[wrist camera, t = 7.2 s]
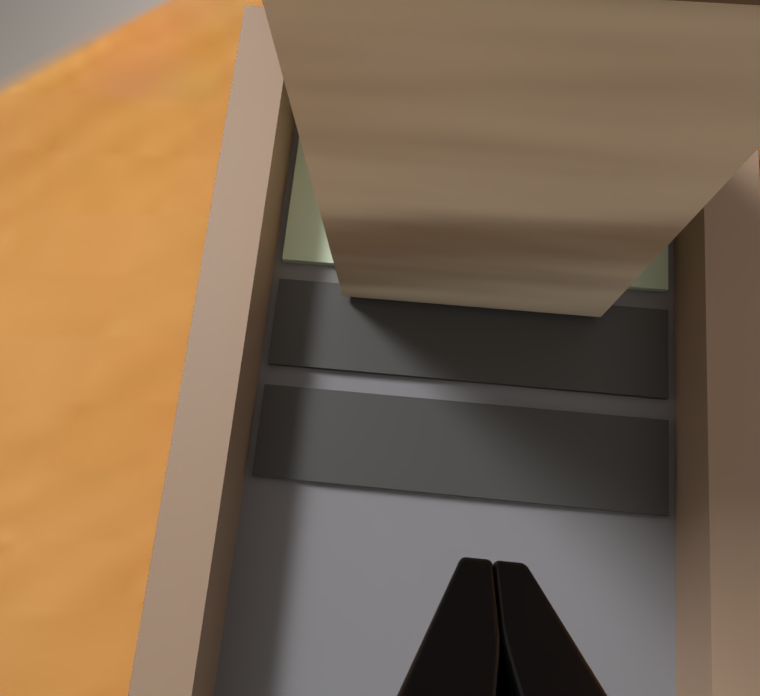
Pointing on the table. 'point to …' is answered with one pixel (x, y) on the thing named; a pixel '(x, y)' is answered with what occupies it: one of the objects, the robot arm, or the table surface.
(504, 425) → the box
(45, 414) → the table surface
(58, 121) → the table surface
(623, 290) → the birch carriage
